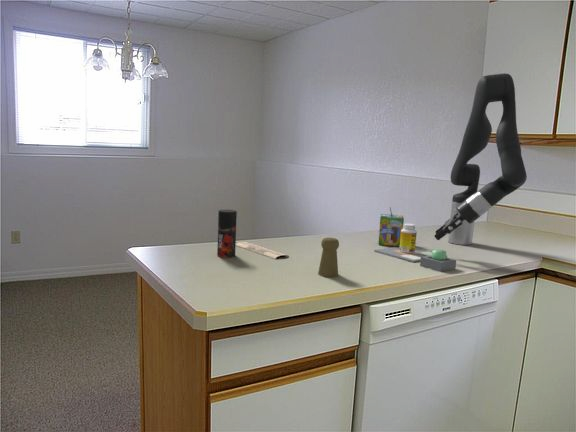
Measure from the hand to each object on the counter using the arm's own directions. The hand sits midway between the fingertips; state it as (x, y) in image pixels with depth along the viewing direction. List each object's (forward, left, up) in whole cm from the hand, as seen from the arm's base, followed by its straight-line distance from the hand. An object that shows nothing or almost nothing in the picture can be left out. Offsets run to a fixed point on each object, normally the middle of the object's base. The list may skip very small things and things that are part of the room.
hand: (436, 236), depth 169 cm
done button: (+12, +10, -6) cm, 17 cm away
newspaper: (+53, -34, -9) cm, 63 cm away
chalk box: (-2, -23, -8) cm, 24 cm away
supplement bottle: (+5, -8, -7) cm, 12 cm away
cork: (+51, 0, -8) cm, 51 cm away
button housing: (+12, +10, -8) cm, 17 cm away
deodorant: (+67, -33, -8) cm, 75 cm away
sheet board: (+5, -7, -8) cm, 11 cm away
